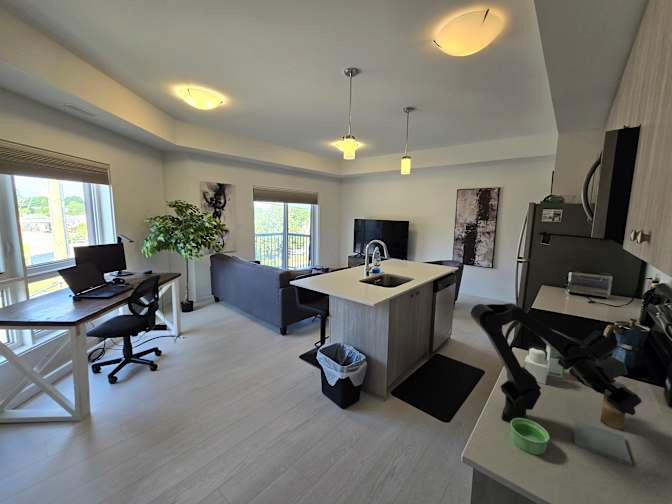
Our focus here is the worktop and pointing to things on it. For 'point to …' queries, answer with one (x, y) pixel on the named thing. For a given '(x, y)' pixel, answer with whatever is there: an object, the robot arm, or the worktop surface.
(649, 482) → the worktop surface
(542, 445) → the ramekin
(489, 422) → the worktop surface
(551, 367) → the syrup box
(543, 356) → the medicine bottle
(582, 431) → the slate trivet
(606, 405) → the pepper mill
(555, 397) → the worktop surface
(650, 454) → the worktop surface
